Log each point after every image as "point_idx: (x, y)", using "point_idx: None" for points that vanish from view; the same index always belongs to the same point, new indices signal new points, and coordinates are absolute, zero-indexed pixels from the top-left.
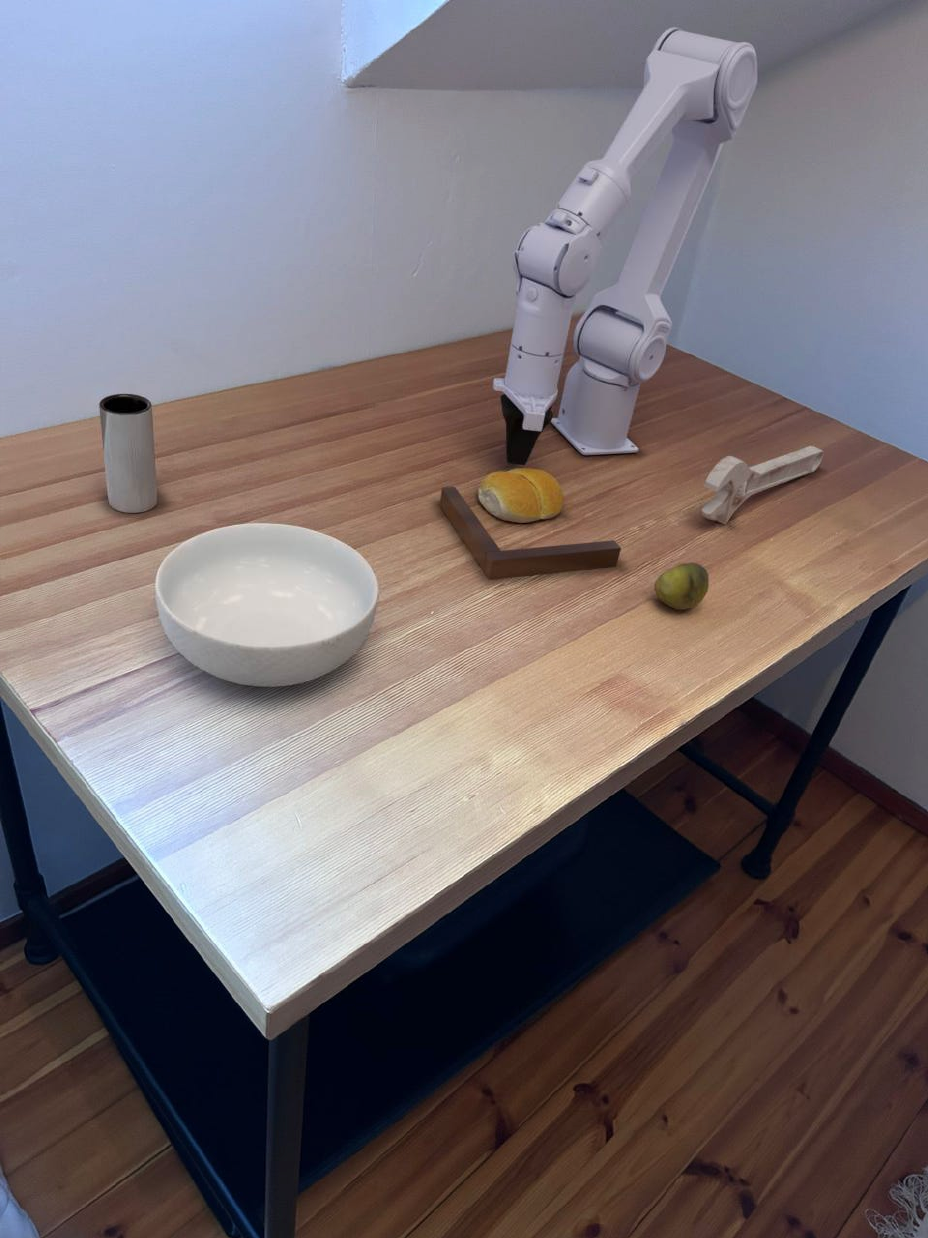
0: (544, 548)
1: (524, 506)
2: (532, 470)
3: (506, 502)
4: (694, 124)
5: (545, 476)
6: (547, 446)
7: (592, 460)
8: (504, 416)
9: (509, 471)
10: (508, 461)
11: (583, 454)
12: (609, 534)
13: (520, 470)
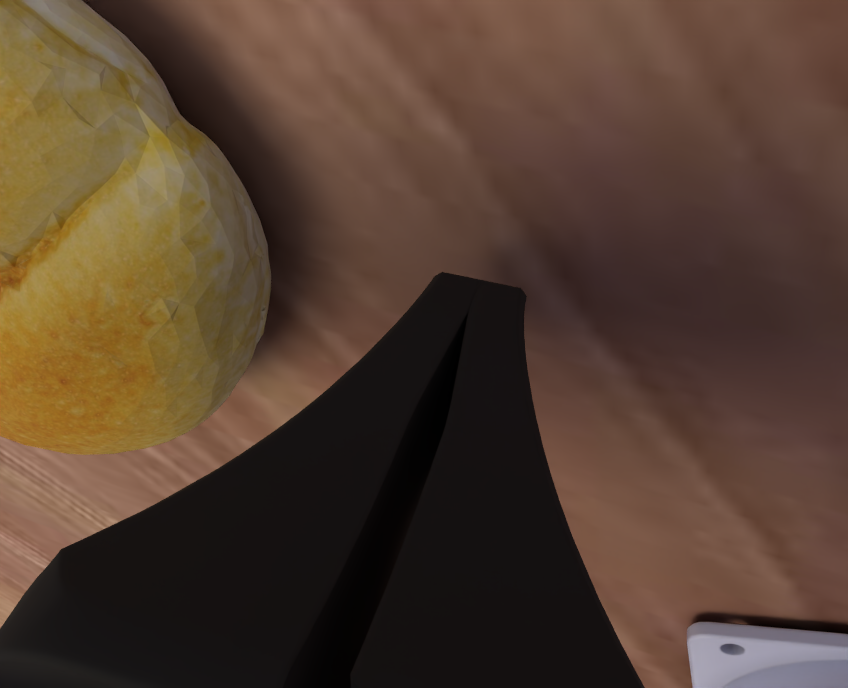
0: None
1: None
2: (60, 386)
3: None
4: None
5: (2, 425)
6: (844, 537)
7: (650, 625)
8: (56, 560)
9: (106, 247)
10: (430, 283)
11: (691, 625)
12: (38, 455)
13: (59, 319)
